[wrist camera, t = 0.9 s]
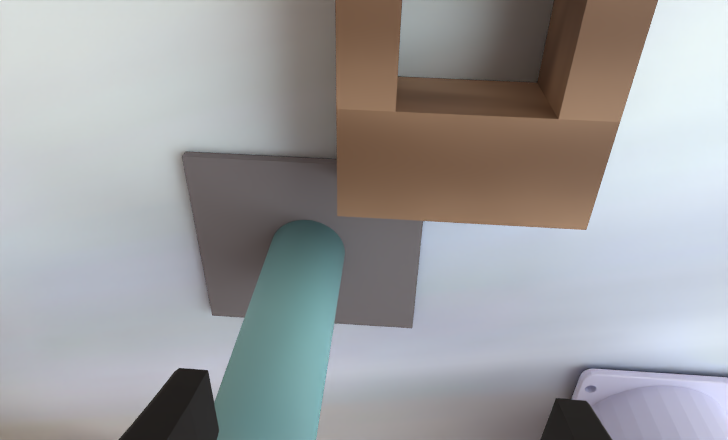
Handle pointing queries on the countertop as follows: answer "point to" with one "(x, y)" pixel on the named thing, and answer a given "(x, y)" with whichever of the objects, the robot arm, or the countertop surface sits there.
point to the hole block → (483, 121)
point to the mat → (286, 204)
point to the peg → (284, 339)
